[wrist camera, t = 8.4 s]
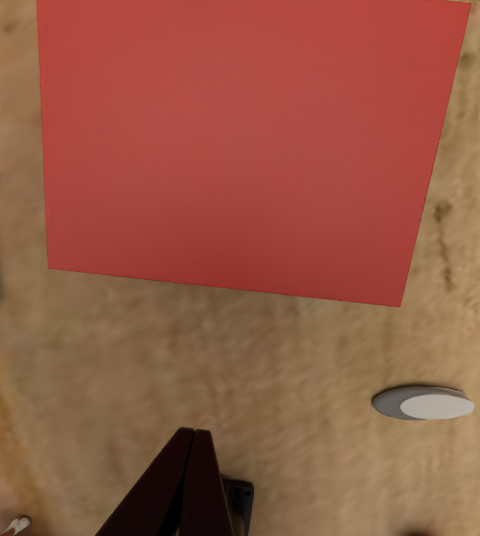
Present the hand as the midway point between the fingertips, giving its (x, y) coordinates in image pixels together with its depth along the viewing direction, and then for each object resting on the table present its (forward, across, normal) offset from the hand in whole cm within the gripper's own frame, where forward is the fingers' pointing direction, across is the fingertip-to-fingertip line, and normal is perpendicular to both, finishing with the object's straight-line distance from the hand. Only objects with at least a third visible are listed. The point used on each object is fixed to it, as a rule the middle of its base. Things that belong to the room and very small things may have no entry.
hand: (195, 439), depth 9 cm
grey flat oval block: (+12, -13, +8) cm, 20 cm away
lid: (+7, 0, -7) cm, 10 cm away
